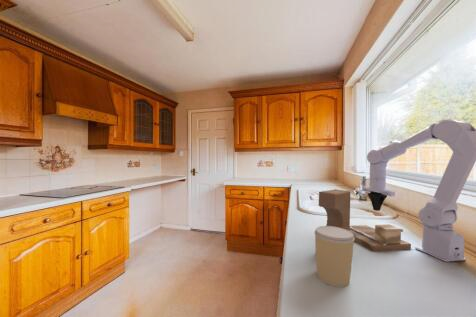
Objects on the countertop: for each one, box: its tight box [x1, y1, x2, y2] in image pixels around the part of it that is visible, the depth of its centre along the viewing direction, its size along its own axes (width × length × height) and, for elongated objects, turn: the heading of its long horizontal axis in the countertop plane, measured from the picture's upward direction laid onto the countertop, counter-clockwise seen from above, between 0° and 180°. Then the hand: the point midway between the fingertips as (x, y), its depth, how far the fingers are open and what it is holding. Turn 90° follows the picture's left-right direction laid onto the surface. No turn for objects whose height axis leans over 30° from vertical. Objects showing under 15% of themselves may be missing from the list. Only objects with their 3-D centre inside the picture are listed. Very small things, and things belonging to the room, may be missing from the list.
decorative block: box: [318, 188, 351, 231], centre depth 69 cm, size 11×6×20 cm, turn 127°
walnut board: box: [350, 224, 412, 252], centre depth 80 cm, size 20×15×2 cm
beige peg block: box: [374, 224, 404, 244], centre depth 74 cm, size 5×9×5 cm, turn 100°
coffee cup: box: [314, 225, 355, 288], centre depth 53 cm, size 9×9×12 cm
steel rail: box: [350, 227, 386, 245], centre depth 80 cm, size 20×1×1 cm, turn 10°
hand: (376, 210), depth 88 cm, fingers closed
